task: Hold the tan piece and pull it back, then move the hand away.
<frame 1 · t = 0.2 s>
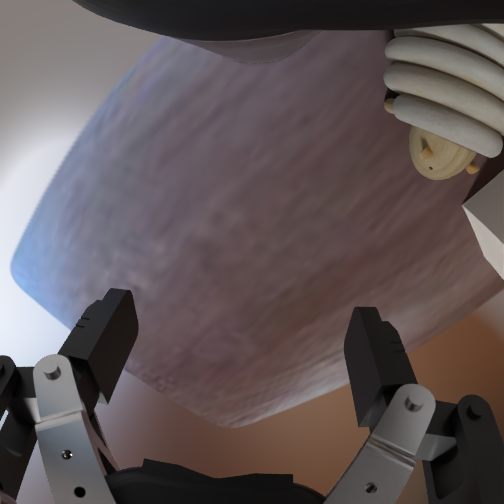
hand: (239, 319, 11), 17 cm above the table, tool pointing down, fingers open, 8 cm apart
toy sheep: (424, 68, 20), on the table
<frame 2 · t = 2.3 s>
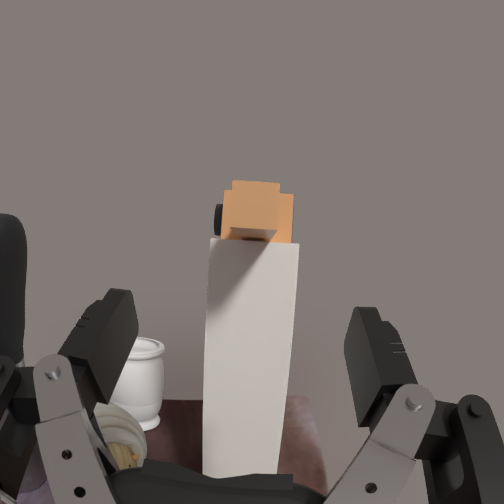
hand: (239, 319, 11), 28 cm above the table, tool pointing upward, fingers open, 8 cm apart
pedestal: (239, 476, 37), on the table
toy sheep: (114, 474, 33), on the table
tan piece: (256, 205, 28), point 35 cm above the table, slide at 0.0 cm
jar: (137, 422, 49), on the table
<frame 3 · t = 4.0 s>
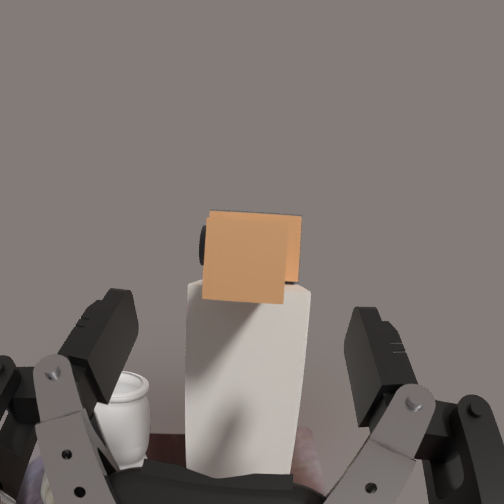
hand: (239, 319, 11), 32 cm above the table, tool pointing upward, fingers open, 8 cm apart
tan piece: (251, 240, 20), point 35 cm above the table, slide at 0.0 cm
jar: (122, 462, 40), on the table
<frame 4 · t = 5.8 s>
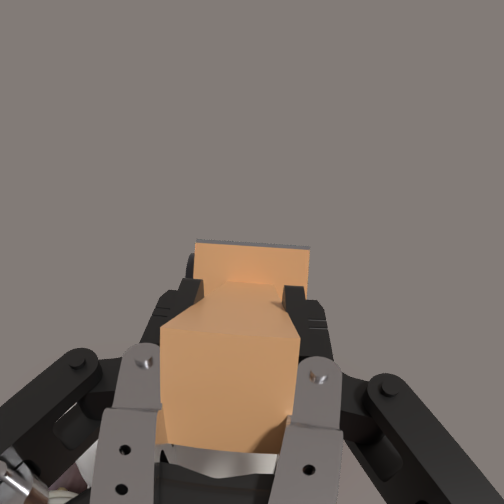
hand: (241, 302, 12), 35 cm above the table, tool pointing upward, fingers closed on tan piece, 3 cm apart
tan piece: (245, 300, 14), point 35 cm above the table, slide at 0.0 cm, touching gripper
jar: (114, 490, 35), on the table
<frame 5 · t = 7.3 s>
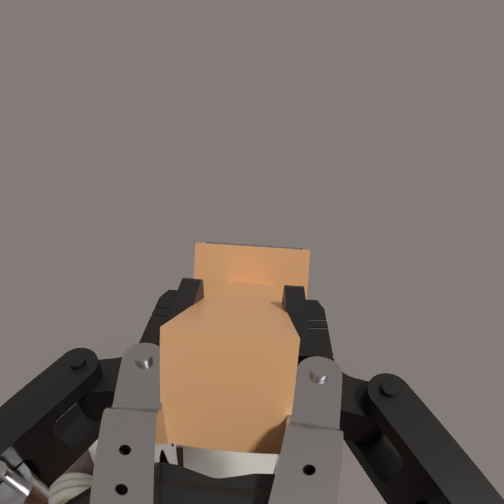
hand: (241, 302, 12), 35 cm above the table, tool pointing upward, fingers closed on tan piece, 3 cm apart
tan piece: (245, 300, 14), point 35 cm above the table, slide at 4.2 cm, touching gripper
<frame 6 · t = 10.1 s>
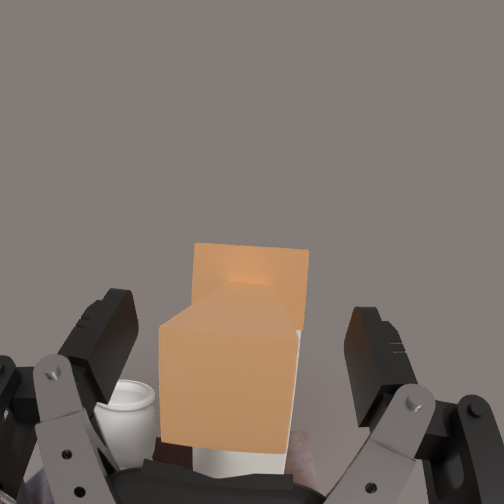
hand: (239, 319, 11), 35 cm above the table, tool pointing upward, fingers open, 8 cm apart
tan piece: (244, 300, 14), point 35 cm above the table, slide at 8.0 cm
jar: (130, 464, 43), on the table
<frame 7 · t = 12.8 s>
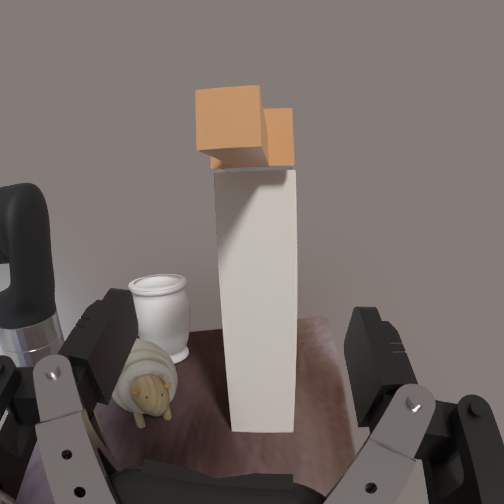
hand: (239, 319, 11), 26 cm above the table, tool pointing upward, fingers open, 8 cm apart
pedestal: (265, 397, 45), on the table
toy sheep: (149, 407, 42), on the table
tan piece: (243, 123, 21), point 35 cm above the table, slide at 8.0 cm
jar: (167, 356, 58), on the table
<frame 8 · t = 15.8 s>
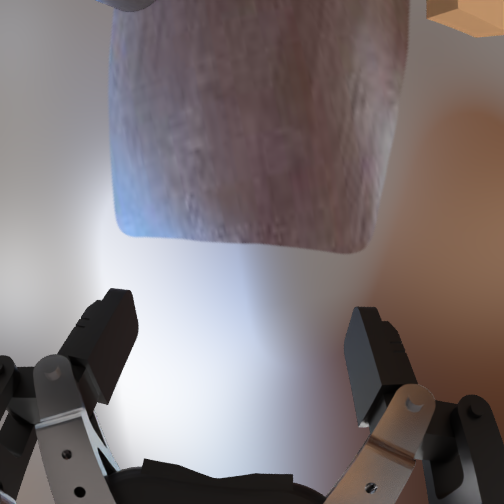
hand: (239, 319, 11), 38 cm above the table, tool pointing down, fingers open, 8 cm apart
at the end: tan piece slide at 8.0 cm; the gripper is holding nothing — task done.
